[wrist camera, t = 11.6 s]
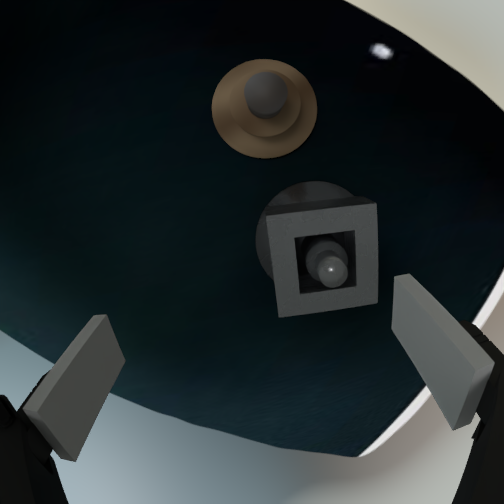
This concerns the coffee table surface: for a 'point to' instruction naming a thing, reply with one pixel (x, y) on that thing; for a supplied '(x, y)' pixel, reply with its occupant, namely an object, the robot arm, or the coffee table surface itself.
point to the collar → (322, 222)
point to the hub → (309, 237)
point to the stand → (264, 108)
